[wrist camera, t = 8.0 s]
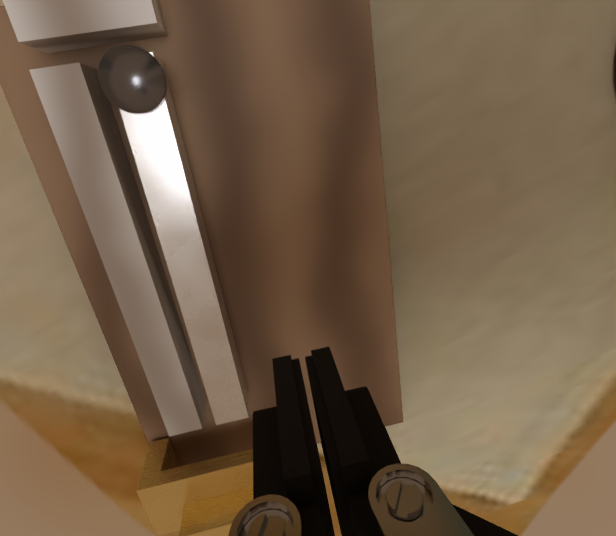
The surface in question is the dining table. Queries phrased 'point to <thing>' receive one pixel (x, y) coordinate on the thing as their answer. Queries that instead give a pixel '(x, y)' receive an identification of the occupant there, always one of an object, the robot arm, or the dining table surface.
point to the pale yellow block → (194, 491)
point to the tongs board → (219, 192)
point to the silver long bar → (177, 219)
